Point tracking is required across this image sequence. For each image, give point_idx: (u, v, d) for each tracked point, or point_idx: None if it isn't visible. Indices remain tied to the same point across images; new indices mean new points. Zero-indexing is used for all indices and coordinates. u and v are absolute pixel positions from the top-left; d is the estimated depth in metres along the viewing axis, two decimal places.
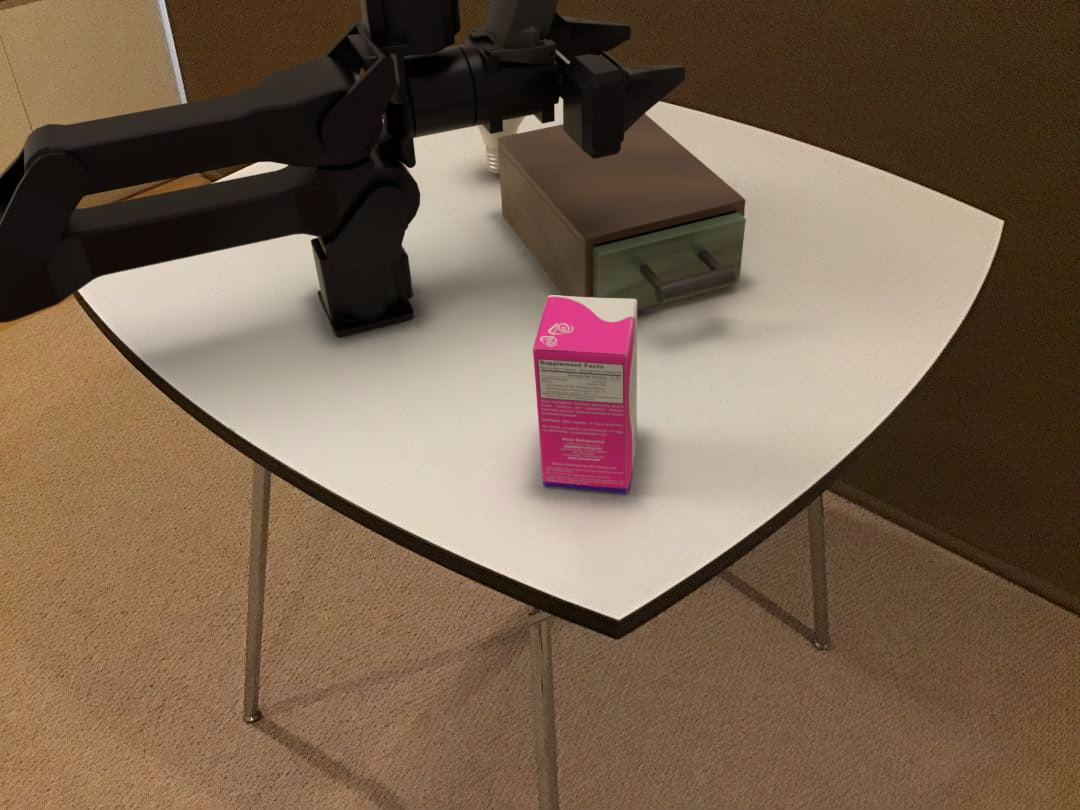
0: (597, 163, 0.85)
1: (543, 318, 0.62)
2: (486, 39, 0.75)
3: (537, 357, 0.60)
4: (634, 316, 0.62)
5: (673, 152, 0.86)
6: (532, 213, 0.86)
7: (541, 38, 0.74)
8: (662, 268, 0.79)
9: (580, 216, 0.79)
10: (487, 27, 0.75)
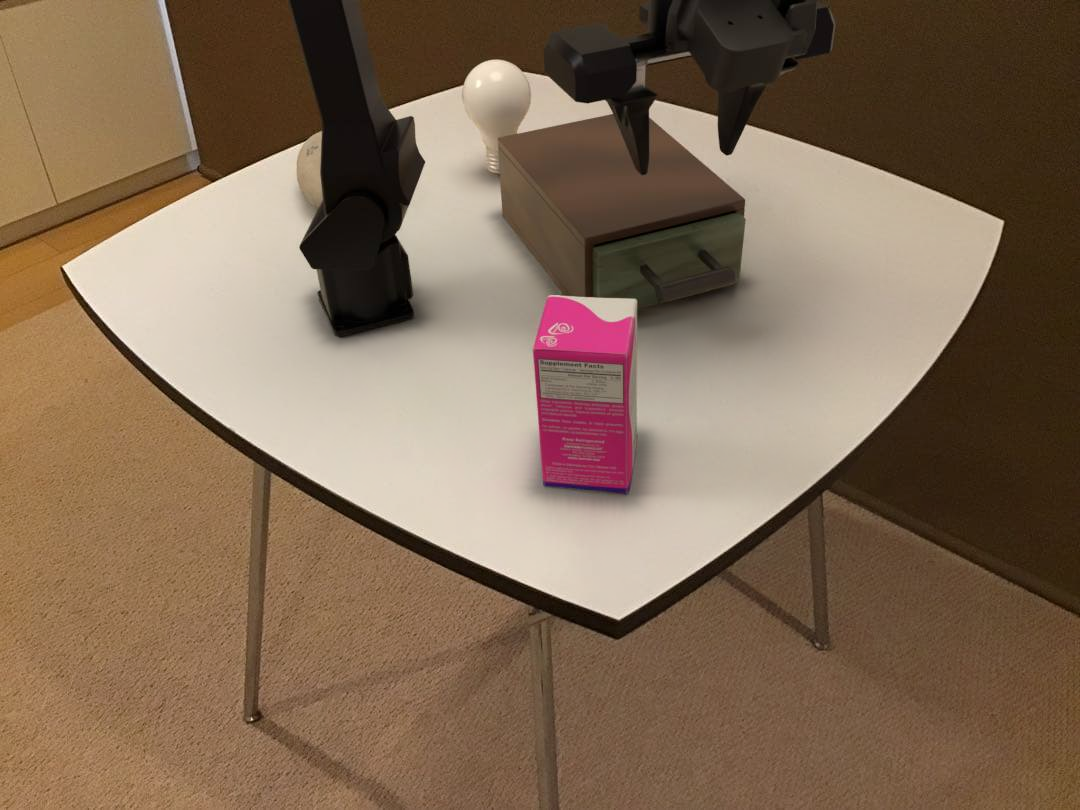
0: (597, 163, 0.85)
1: (543, 318, 0.62)
2: None
3: (537, 357, 0.60)
4: (634, 316, 0.62)
5: (673, 152, 0.86)
6: (532, 213, 0.86)
7: (688, 39, 0.64)
8: (662, 268, 0.79)
9: (580, 216, 0.79)
10: None
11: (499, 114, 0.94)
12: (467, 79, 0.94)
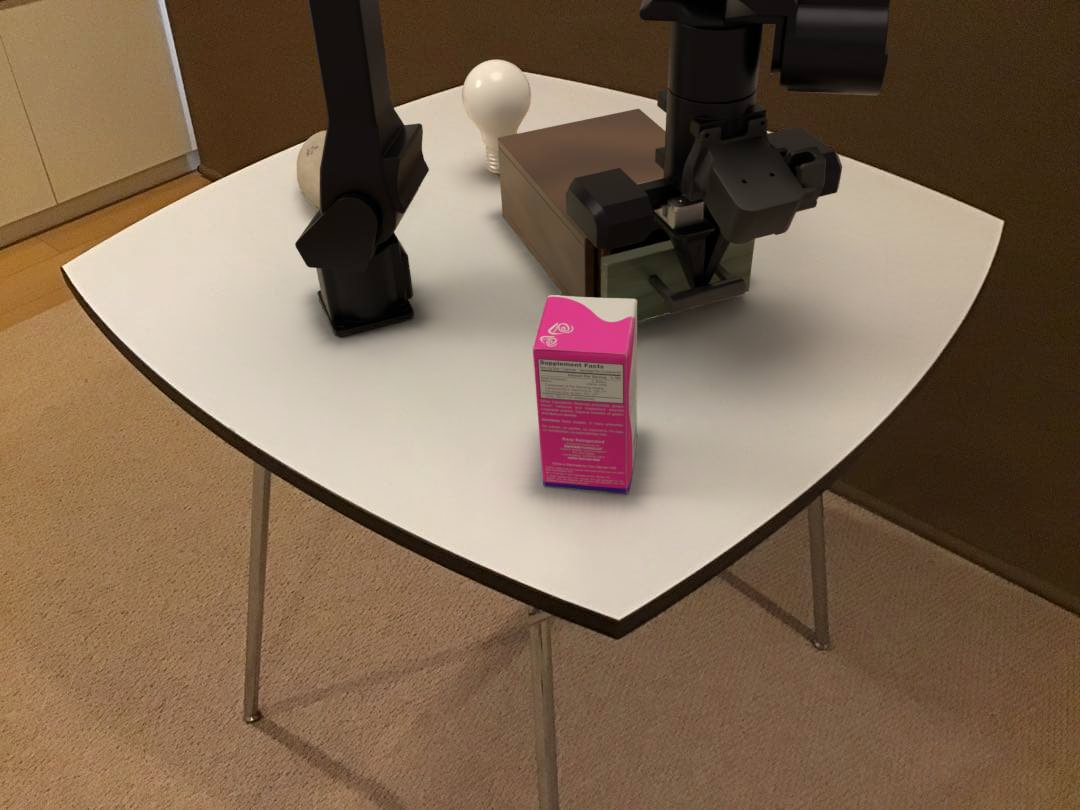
0: (597, 163, 0.85)
1: (543, 318, 0.62)
2: (744, 132, 0.66)
3: (537, 357, 0.60)
4: (634, 316, 0.62)
5: None
6: (532, 213, 0.86)
7: None
8: (671, 278, 0.78)
9: None
10: (756, 139, 0.66)
11: (499, 114, 0.94)
12: (467, 79, 0.94)
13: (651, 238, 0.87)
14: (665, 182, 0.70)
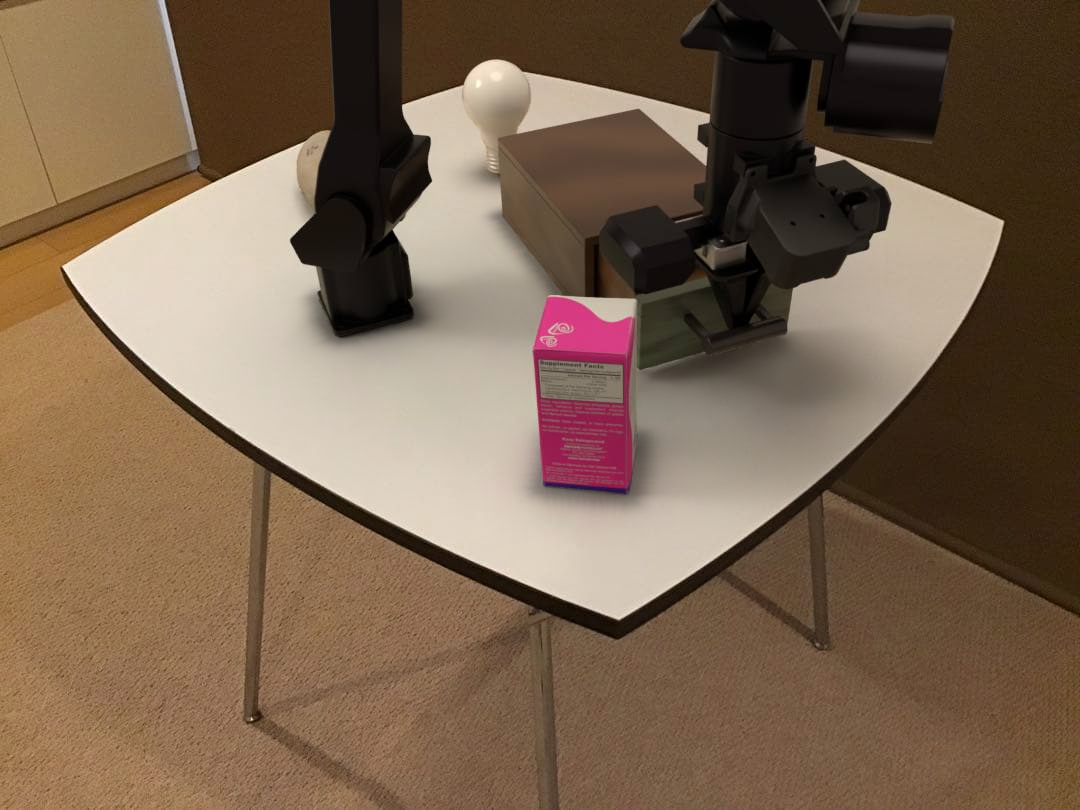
0: (597, 163, 0.85)
1: (543, 318, 0.62)
2: (791, 170, 0.63)
3: (537, 357, 0.60)
4: (634, 316, 0.62)
5: (673, 152, 0.86)
6: (532, 213, 0.86)
7: None
8: (707, 316, 0.74)
9: (580, 216, 0.79)
10: (805, 177, 0.62)
11: (499, 114, 0.94)
12: (467, 79, 0.94)
13: None
14: (705, 221, 0.66)
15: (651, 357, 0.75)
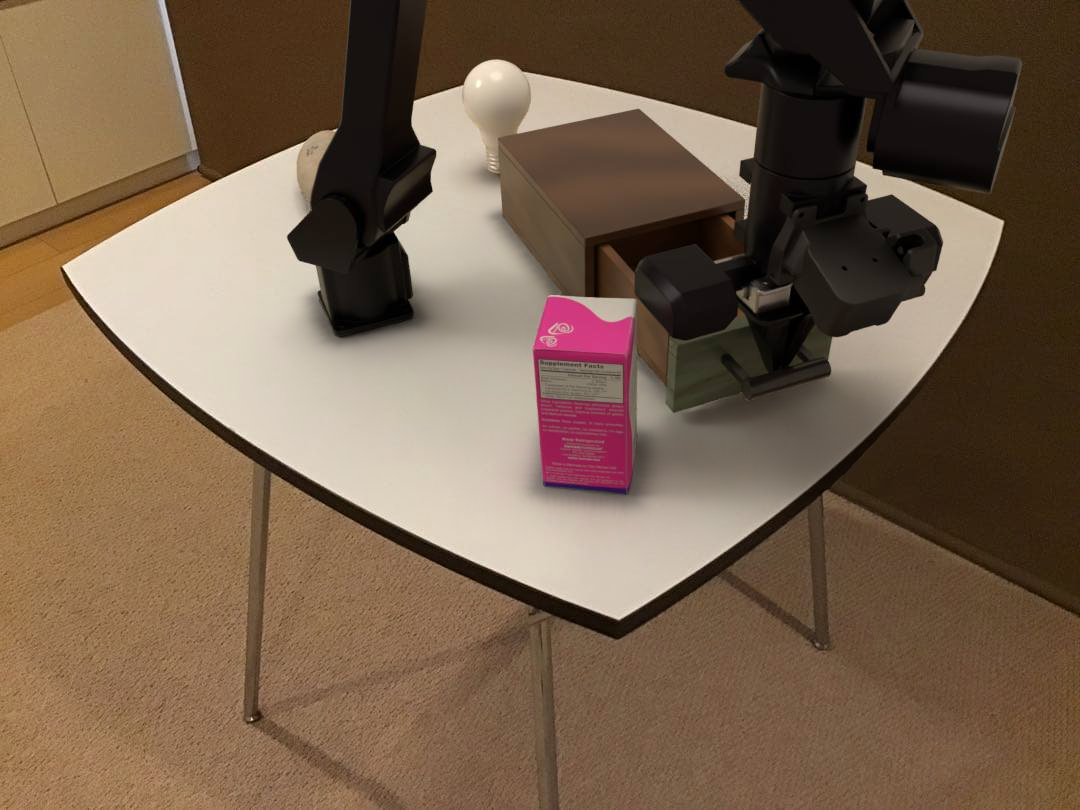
0: (597, 163, 0.85)
1: (543, 318, 0.62)
2: (841, 209, 0.59)
3: (537, 357, 0.60)
4: (634, 316, 0.62)
5: (673, 152, 0.86)
6: (532, 213, 0.86)
7: None
8: (745, 357, 0.70)
9: (580, 216, 0.79)
10: (855, 217, 0.59)
11: (499, 114, 0.94)
12: (467, 79, 0.94)
13: None
14: (747, 261, 0.62)
15: (686, 399, 0.71)
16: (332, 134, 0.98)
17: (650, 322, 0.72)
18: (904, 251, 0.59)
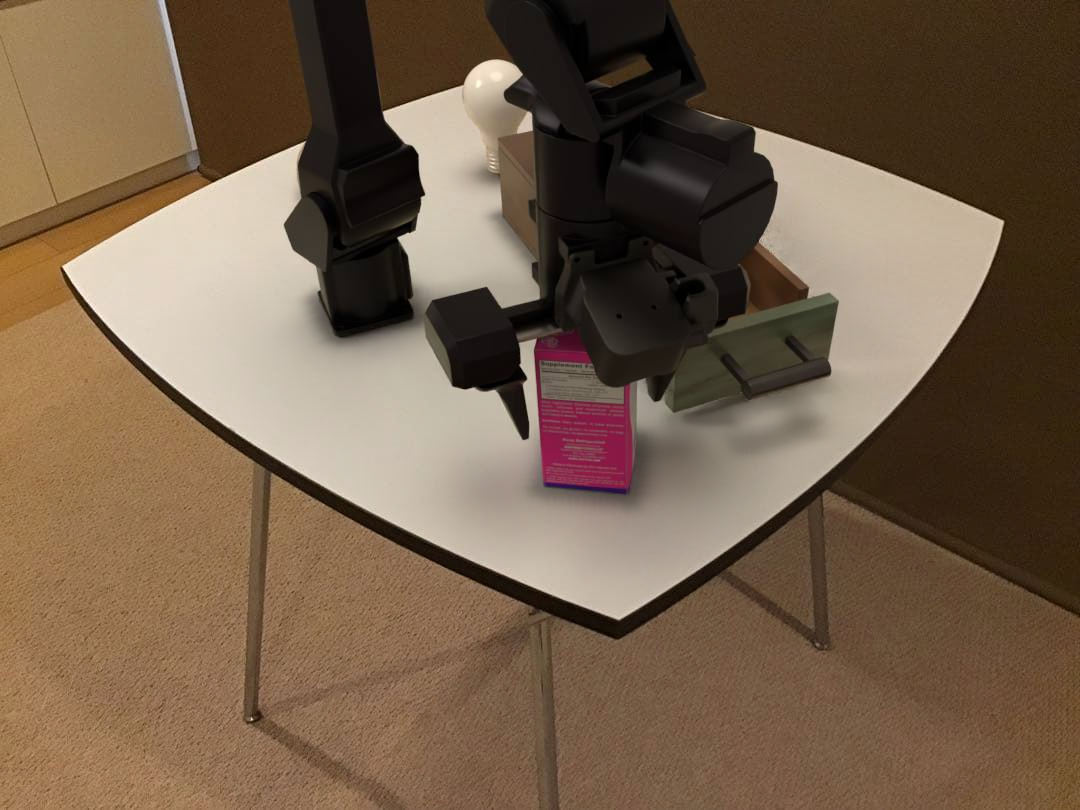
0: None
1: None
2: (624, 253, 0.56)
3: (538, 358, 0.60)
4: None
5: None
6: None
7: None
8: (745, 357, 0.70)
9: None
10: (639, 261, 0.56)
11: (499, 114, 0.94)
12: (467, 79, 0.94)
13: None
14: (539, 305, 0.59)
15: (686, 399, 0.71)
16: None
17: None
18: None
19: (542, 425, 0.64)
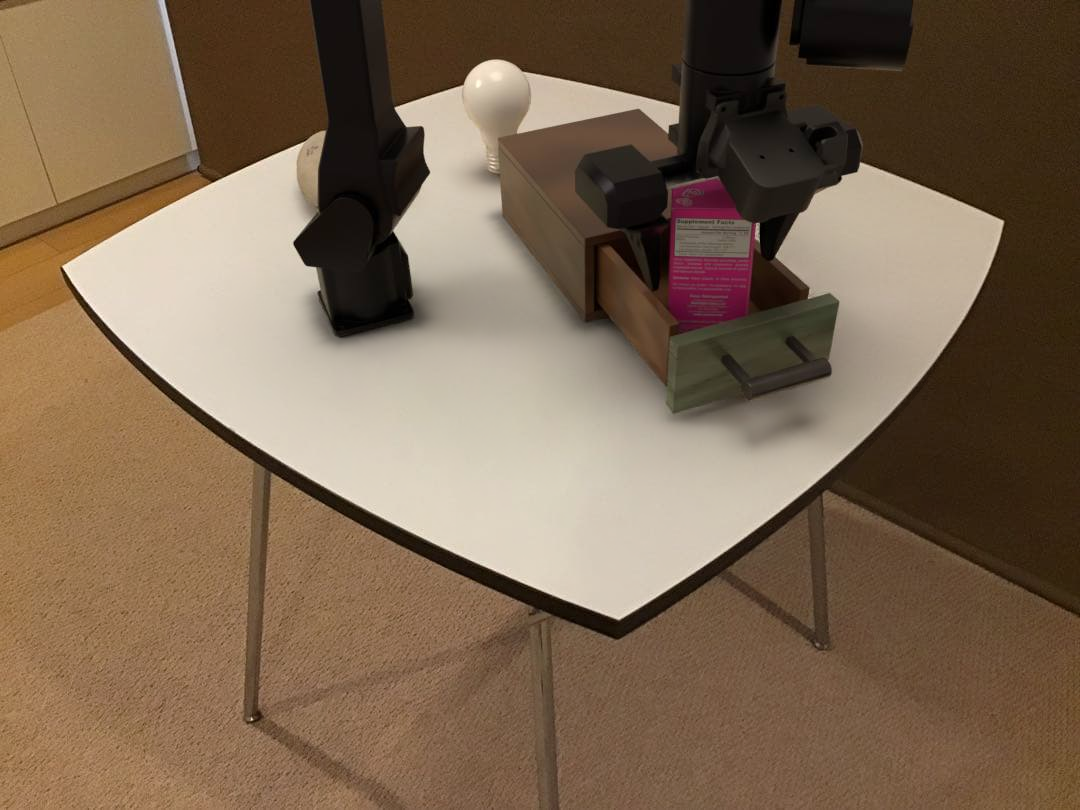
0: None
1: None
2: (762, 106, 0.64)
3: (675, 216, 0.68)
4: None
5: (673, 152, 0.86)
6: (532, 213, 0.86)
7: None
8: (745, 357, 0.70)
9: (580, 216, 0.79)
10: (775, 113, 0.64)
11: (499, 114, 0.94)
12: (467, 79, 0.94)
13: None
14: (679, 159, 0.67)
15: (686, 400, 0.71)
16: None
17: (650, 322, 0.72)
18: None
19: (672, 282, 0.72)
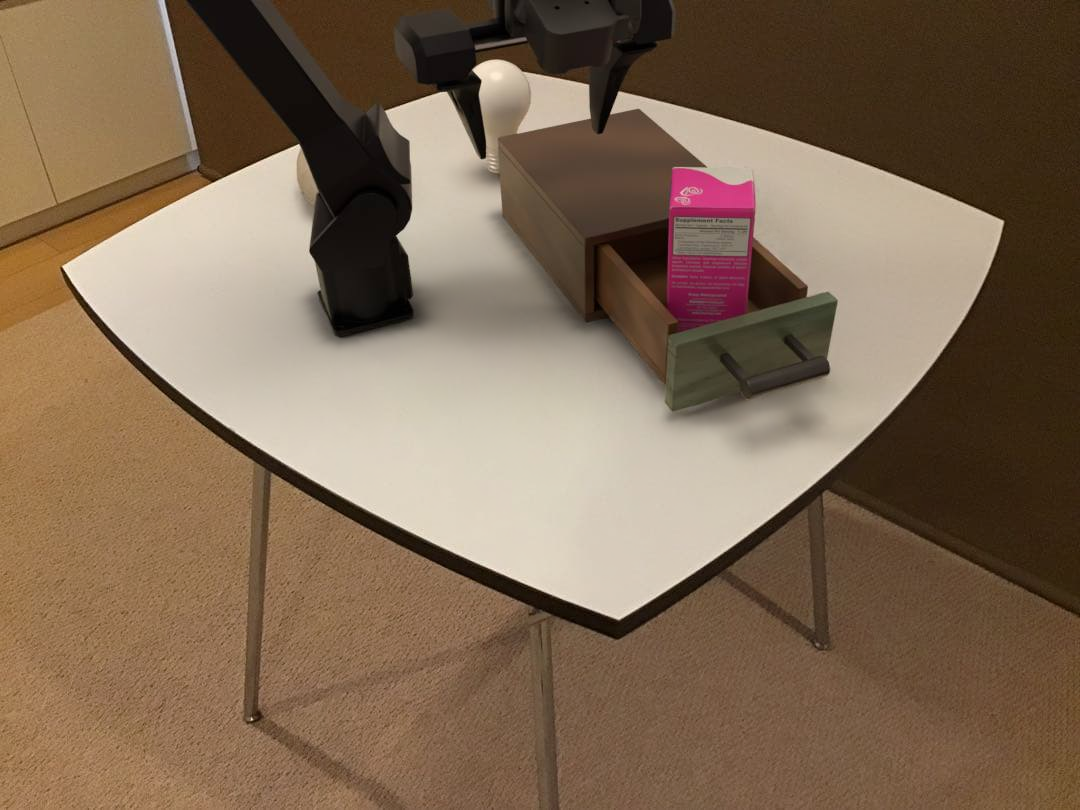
0: (597, 163, 0.85)
1: (673, 184, 0.70)
2: None
3: (673, 215, 0.69)
4: (753, 180, 0.70)
5: (673, 152, 0.86)
6: (532, 213, 0.86)
7: None
8: (744, 356, 0.71)
9: (580, 216, 0.79)
10: None
11: (499, 114, 0.94)
12: None
13: None
14: (492, 22, 0.69)
15: (685, 398, 0.71)
16: None
17: (649, 321, 0.72)
18: None
19: (671, 281, 0.72)
